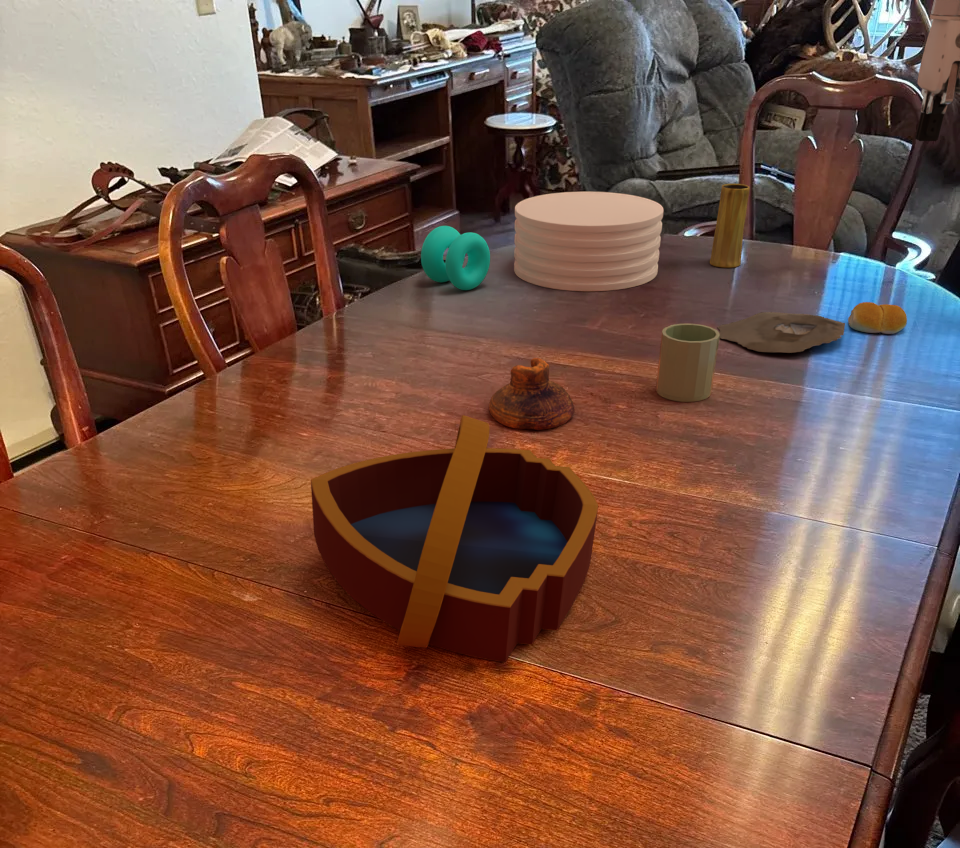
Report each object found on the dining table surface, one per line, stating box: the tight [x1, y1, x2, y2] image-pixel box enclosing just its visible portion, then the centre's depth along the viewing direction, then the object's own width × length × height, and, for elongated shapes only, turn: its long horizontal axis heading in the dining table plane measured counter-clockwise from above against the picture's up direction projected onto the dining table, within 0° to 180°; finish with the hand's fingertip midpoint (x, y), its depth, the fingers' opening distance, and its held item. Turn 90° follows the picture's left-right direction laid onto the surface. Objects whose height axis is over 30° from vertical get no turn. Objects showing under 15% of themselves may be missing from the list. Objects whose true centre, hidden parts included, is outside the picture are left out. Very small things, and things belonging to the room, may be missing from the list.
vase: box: [709, 183, 751, 269], centre depth 185 cm, size 6×6×14 cm
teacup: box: [655, 323, 721, 403], centre depth 135 cm, size 8×8×8 cm
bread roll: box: [847, 301, 908, 335], centre depth 157 cm, size 8×9×4 cm
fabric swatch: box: [716, 311, 846, 354], centre depth 155 cm, size 19×22×2 cm
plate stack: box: [513, 191, 664, 292], centre depth 184 cm, size 28×28×12 cm
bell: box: [488, 357, 575, 431], centre depth 129 cm, size 12×12×7 cm
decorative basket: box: [310, 414, 599, 663], centre depth 95 cm, size 34×29×15 cm
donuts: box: [420, 225, 491, 291], centre depth 177 cm, size 10×10×10 cm
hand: (926, 139), depth 158 cm, fingers closed
